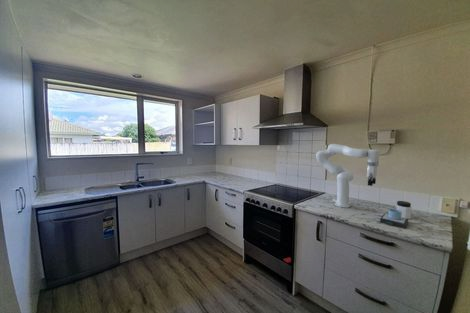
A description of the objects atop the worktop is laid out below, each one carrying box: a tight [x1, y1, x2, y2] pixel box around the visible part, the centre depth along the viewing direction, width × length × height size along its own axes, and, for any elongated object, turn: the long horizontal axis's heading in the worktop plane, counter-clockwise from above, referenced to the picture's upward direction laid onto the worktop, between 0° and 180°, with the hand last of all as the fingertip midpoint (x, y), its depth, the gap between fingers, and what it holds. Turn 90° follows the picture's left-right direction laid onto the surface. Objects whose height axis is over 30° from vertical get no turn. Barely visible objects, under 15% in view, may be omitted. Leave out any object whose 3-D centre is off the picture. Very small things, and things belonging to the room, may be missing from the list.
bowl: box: [387, 208, 402, 220], centre depth 138 cm, size 7×7×6 cm
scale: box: [379, 213, 409, 229], centre depth 138 cm, size 14×16×4 cm
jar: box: [395, 200, 412, 220], centre depth 148 cm, size 9×8×12 cm
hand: (371, 184), depth 156 cm, fingers open, 9 cm apart
